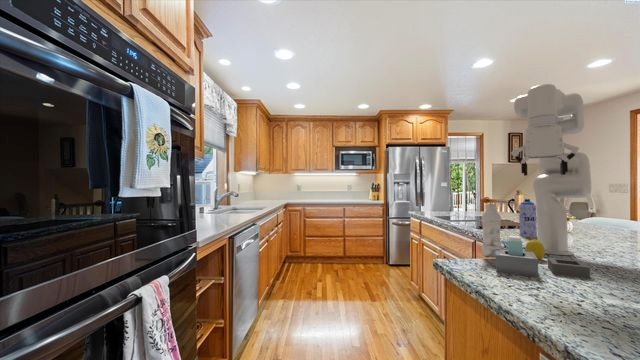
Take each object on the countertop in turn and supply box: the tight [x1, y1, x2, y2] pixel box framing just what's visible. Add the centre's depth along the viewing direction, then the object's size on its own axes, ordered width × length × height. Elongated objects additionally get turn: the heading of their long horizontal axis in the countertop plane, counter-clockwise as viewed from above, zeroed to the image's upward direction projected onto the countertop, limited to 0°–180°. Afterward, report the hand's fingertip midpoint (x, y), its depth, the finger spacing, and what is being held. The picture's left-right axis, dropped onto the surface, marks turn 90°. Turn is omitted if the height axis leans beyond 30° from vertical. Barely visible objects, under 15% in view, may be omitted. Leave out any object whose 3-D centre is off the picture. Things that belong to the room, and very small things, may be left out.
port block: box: [495, 248, 539, 278], centre depth 85 cm, size 10×10×6 cm
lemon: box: [524, 238, 546, 261], centre depth 98 cm, size 6×6×8 cm
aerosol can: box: [518, 198, 537, 238], centre depth 150 cm, size 8×8×20 cm
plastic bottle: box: [481, 203, 502, 259], centre depth 103 cm, size 6×7×20 cm
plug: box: [507, 235, 524, 256], centre depth 85 cm, size 4×4×10 cm
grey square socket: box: [547, 257, 591, 280], centre depth 82 cm, size 8×8×4 cm
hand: (543, 175), depth 91 cm, fingers open, 9 cm apart
